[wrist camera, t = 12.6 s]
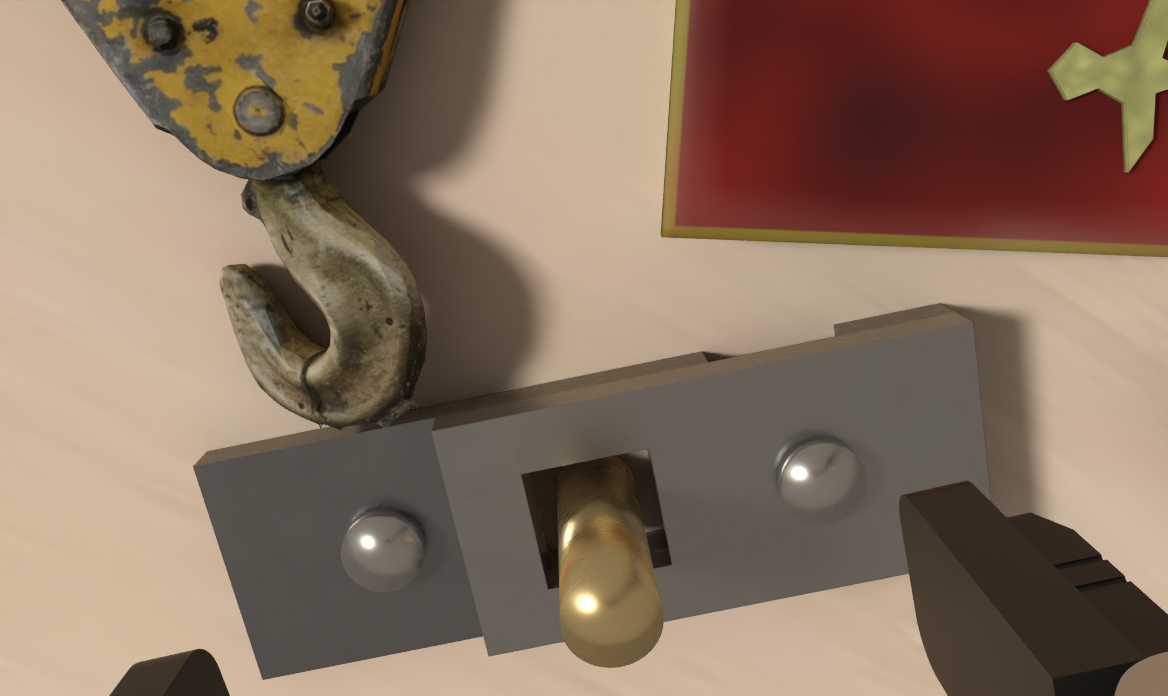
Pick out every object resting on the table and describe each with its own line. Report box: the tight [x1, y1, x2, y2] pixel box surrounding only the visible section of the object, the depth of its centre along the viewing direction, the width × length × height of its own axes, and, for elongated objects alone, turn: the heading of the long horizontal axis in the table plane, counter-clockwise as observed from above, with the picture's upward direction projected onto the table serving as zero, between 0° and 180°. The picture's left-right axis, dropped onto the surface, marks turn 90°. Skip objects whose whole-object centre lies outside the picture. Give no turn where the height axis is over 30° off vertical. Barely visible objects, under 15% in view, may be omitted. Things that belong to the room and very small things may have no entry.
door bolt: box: [193, 303, 991, 680], centre depth 37 cm, size 28×9×4 cm, turn 101°
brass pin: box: [557, 455, 664, 668], centre depth 34 cm, size 3×3×10 cm
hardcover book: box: [661, 0, 1168, 257], centre depth 33 cm, size 12×21×4 cm, turn 87°
